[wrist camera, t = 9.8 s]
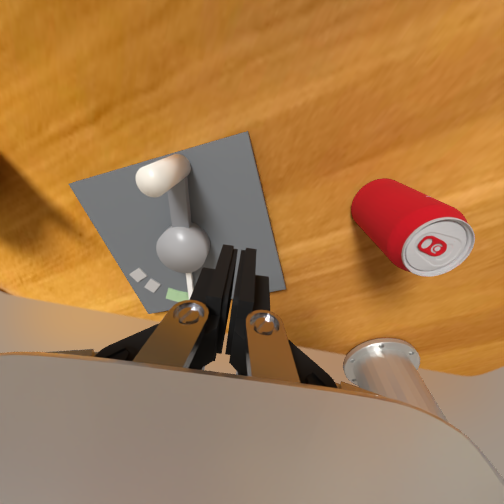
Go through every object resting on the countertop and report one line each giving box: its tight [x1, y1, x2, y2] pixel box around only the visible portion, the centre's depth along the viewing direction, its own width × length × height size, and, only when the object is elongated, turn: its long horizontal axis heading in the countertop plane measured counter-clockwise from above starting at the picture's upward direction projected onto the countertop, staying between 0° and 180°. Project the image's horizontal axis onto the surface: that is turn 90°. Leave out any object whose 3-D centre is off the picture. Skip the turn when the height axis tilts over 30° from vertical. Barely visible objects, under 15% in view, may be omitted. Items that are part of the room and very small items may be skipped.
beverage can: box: [351, 179, 475, 276], centre depth 24 cm, size 6×6×12 cm
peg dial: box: [136, 154, 210, 300], centre depth 28 cm, size 22×6×8 cm, turn 178°
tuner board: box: [69, 131, 286, 314], centre depth 32 cm, size 21×22×1 cm
